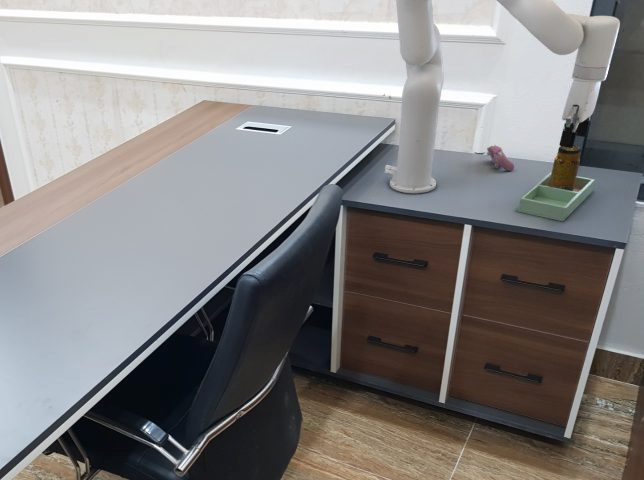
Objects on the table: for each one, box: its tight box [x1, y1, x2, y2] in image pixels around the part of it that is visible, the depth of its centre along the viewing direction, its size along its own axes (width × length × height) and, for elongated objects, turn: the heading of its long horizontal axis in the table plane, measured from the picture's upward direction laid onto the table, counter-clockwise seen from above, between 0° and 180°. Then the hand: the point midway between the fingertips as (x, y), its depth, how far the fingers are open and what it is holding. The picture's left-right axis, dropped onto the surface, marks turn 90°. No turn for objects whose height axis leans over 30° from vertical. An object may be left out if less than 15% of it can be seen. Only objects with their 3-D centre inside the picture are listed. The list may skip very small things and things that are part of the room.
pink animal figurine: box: [486, 144, 515, 172], centre depth 210 cm, size 10×5×7 cm, turn 178°
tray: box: [517, 171, 596, 222], centre depth 187 cm, size 11×22×4 cm, turn 138°
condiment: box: [549, 145, 582, 192], centre depth 187 cm, size 7×8×12 cm
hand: (572, 141), depth 183 cm, fingers open, 9 cm apart
